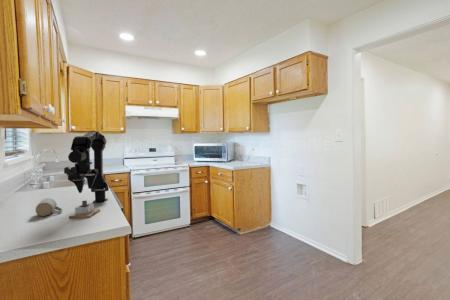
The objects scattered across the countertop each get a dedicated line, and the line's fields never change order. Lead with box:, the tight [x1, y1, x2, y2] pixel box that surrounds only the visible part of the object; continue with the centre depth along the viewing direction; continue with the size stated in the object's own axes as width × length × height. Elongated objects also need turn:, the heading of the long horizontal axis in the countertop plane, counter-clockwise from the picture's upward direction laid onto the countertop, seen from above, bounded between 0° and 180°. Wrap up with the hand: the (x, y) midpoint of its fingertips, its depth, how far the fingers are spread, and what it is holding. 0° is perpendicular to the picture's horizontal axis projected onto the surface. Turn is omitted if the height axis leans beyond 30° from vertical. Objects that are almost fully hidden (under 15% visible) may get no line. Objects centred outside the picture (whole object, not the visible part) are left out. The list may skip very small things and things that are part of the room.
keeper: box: [68, 199, 101, 219], centre depth 118 cm, size 10×10×7 cm
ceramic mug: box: [35, 197, 63, 217], centre depth 121 cm, size 11×8×8 cm
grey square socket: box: [74, 203, 95, 215], centre depth 118 cm, size 6×6×4 cm
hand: (85, 190), depth 121 cm, fingers open, 9 cm apart
